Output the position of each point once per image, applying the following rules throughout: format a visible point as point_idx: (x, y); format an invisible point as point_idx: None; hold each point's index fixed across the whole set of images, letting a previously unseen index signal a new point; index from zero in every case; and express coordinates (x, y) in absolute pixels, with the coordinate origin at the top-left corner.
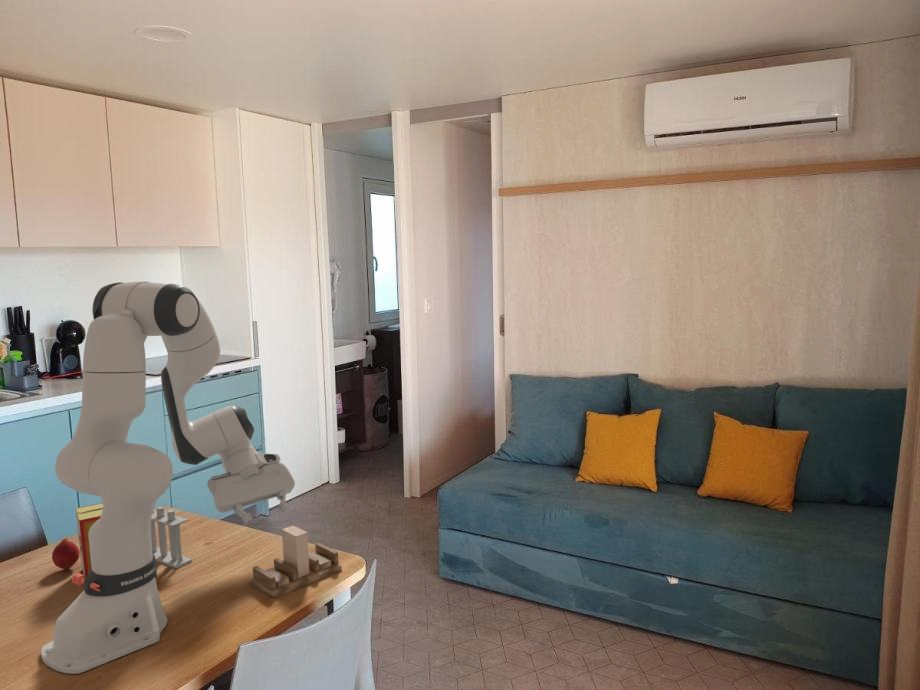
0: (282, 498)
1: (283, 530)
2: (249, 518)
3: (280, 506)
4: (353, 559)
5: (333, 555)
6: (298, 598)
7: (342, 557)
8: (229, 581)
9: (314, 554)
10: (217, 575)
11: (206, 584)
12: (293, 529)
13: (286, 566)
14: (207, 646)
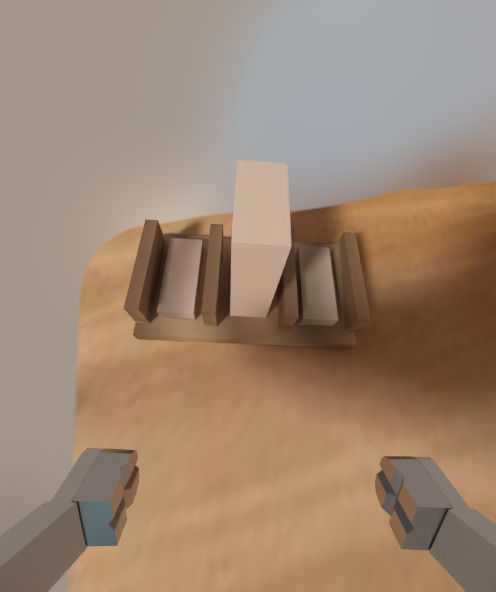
0: (21, 559)
1: (290, 234)
2: (412, 459)
3: (120, 484)
4: (96, 259)
5: (158, 230)
6: (300, 219)
7: (100, 287)
8: (394, 410)
9: (169, 295)
10: None
11: (456, 450)
12: (256, 211)
13: (294, 254)
14: (485, 212)
